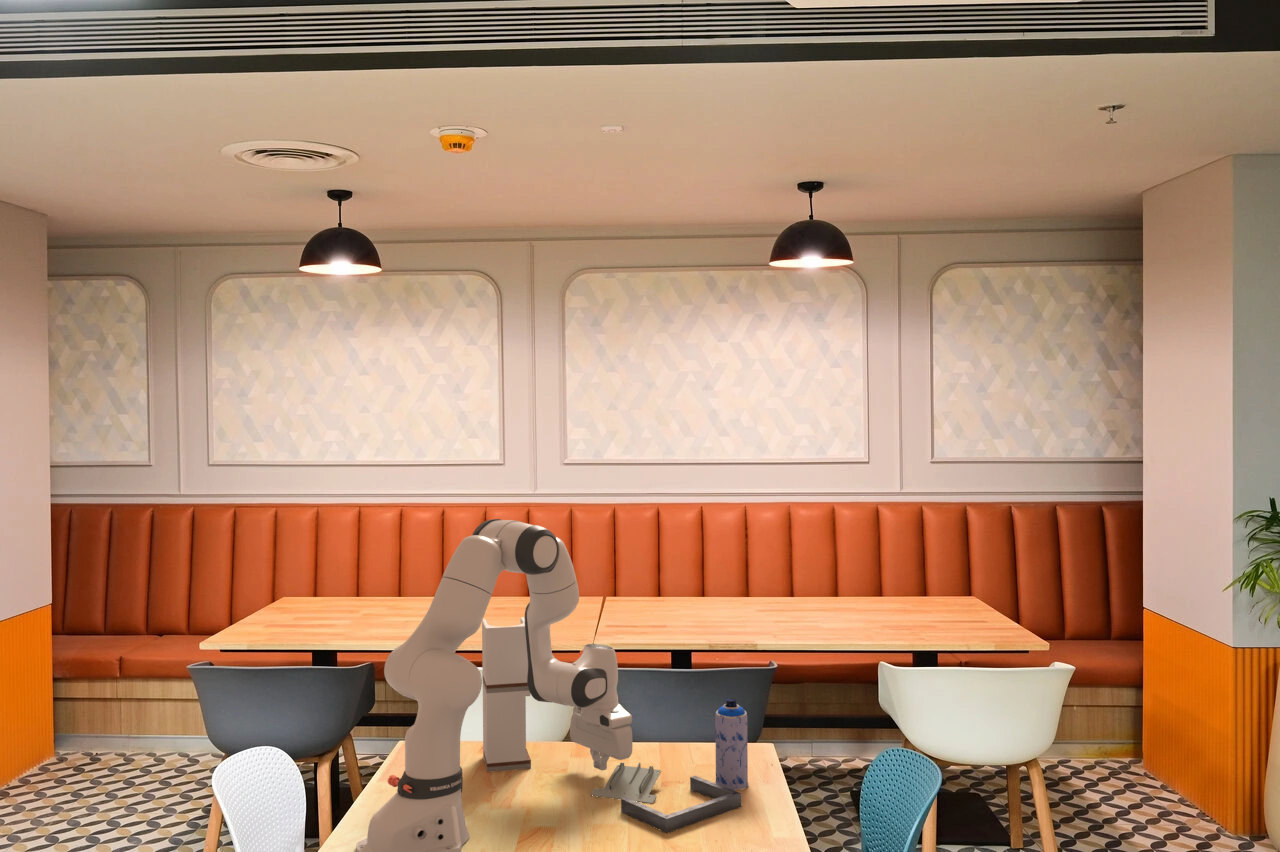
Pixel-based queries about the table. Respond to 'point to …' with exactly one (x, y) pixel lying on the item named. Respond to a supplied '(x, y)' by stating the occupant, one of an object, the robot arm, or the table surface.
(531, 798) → the table surface
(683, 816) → the steel u-shaped frame
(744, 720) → the aerosol can
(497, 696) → the banded square pillar
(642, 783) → the metal bracket
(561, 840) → the table surface
